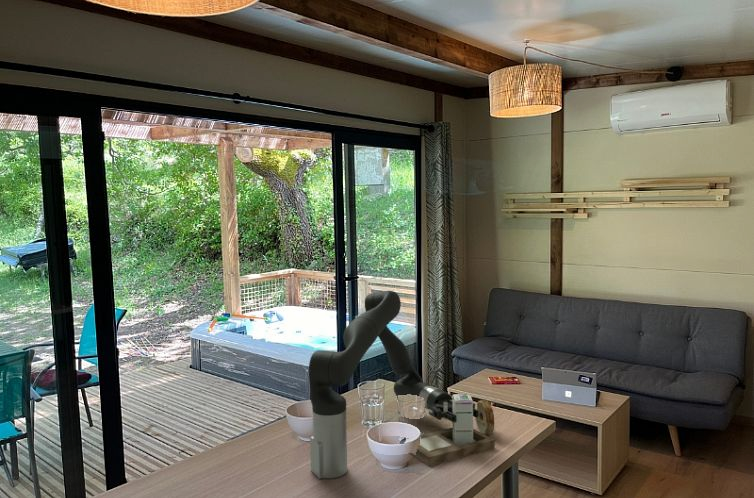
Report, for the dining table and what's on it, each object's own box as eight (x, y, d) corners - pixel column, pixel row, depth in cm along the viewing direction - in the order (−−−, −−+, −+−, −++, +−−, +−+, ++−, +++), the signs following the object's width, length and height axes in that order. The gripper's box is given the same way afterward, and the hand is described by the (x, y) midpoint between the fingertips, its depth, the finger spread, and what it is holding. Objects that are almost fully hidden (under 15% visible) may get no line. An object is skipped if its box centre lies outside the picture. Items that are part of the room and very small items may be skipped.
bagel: (496, 438, 176) (496, 406, 175) (485, 438, 176) (485, 407, 175) (485, 425, 186) (485, 395, 186) (474, 426, 186) (474, 396, 185)
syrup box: (473, 447, 169) (474, 400, 168) (453, 447, 169) (454, 400, 168) (470, 439, 175) (471, 393, 173) (451, 439, 175) (452, 393, 174)
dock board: (429, 466, 158) (428, 456, 157) (402, 447, 170) (402, 438, 170) (494, 448, 169) (494, 439, 169) (465, 432, 181) (465, 423, 181)
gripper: (416, 392, 180) (447, 408, 166) (453, 385, 187) (485, 400, 172) (416, 415, 180) (447, 433, 166) (453, 407, 187) (485, 424, 173)
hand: (466, 416), depth 169 cm, fingers closed on syrup box, 7 cm apart
